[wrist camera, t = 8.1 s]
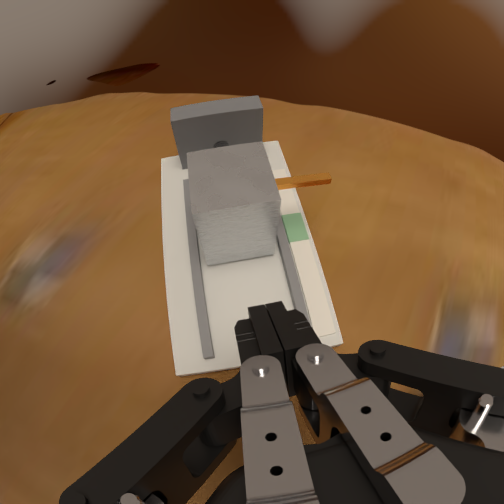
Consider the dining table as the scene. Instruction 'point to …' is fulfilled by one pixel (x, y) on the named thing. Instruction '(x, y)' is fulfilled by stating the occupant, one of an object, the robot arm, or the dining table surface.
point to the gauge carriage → (238, 200)
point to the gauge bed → (237, 272)
